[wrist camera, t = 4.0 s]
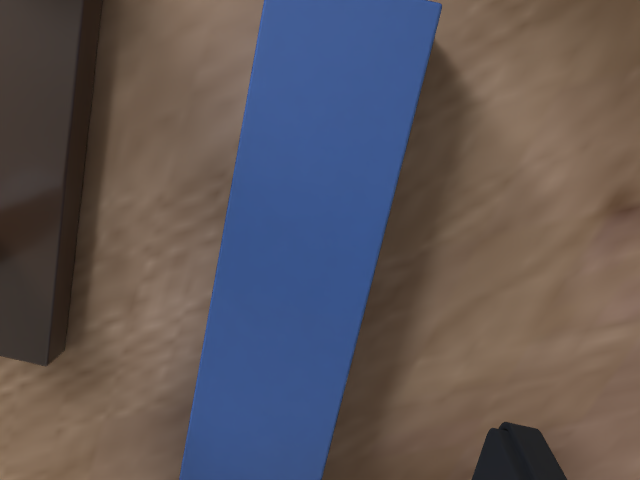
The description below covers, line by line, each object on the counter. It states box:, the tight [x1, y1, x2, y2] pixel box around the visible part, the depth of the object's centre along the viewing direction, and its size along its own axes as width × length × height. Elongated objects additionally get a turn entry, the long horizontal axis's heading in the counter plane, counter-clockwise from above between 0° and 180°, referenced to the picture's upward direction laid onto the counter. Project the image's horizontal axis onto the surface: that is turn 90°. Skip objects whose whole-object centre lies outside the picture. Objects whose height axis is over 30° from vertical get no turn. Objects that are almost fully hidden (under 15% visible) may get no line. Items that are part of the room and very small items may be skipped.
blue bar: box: [179, 0, 442, 480], centre depth 14 cm, size 3×16×3 cm, turn 168°
